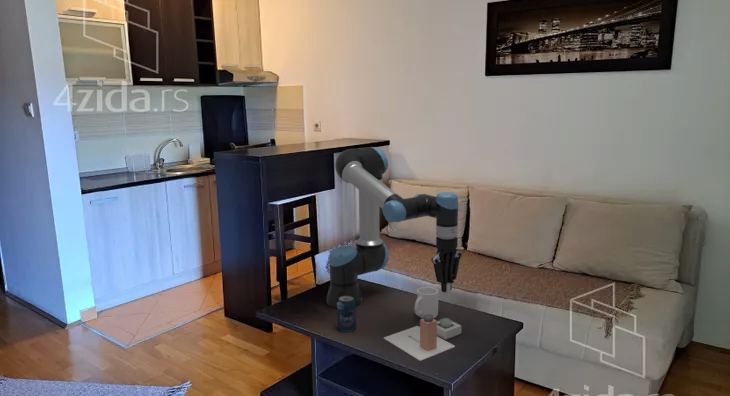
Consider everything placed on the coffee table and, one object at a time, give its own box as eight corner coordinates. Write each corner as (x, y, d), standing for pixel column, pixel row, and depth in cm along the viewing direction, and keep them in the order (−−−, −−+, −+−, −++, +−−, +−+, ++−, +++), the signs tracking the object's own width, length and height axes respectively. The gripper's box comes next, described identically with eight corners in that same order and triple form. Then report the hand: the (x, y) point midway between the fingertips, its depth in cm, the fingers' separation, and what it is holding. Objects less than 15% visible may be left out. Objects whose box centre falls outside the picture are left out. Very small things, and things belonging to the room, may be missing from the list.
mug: (423, 324, 192) (423, 299, 190) (406, 318, 198) (406, 293, 196) (442, 315, 200) (442, 290, 198) (425, 309, 206) (426, 285, 204)
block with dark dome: (420, 346, 174) (420, 315, 172) (428, 343, 176) (429, 312, 174) (427, 351, 171) (427, 319, 169) (436, 347, 173) (436, 316, 171)
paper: (383, 338, 181) (383, 337, 181) (417, 326, 190) (417, 325, 190) (420, 361, 165) (420, 360, 165) (455, 346, 174) (455, 346, 174)
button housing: (430, 331, 186) (430, 323, 186) (445, 325, 191) (446, 318, 190) (445, 339, 180) (445, 331, 179) (461, 333, 184) (461, 325, 184)
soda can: (341, 333, 186) (340, 303, 184) (335, 326, 192) (334, 296, 190) (358, 330, 188) (358, 300, 186) (352, 322, 195) (351, 293, 192)
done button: (437, 327, 185) (438, 319, 185) (445, 324, 188) (445, 317, 187) (445, 331, 182) (445, 323, 181) (453, 328, 184) (453, 320, 184)
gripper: (440, 242, 171) (440, 307, 176) (467, 235, 179) (466, 298, 183) (425, 237, 177) (425, 300, 182) (452, 231, 185) (452, 292, 189)
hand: (446, 299), depth 183 cm, fingers closed
